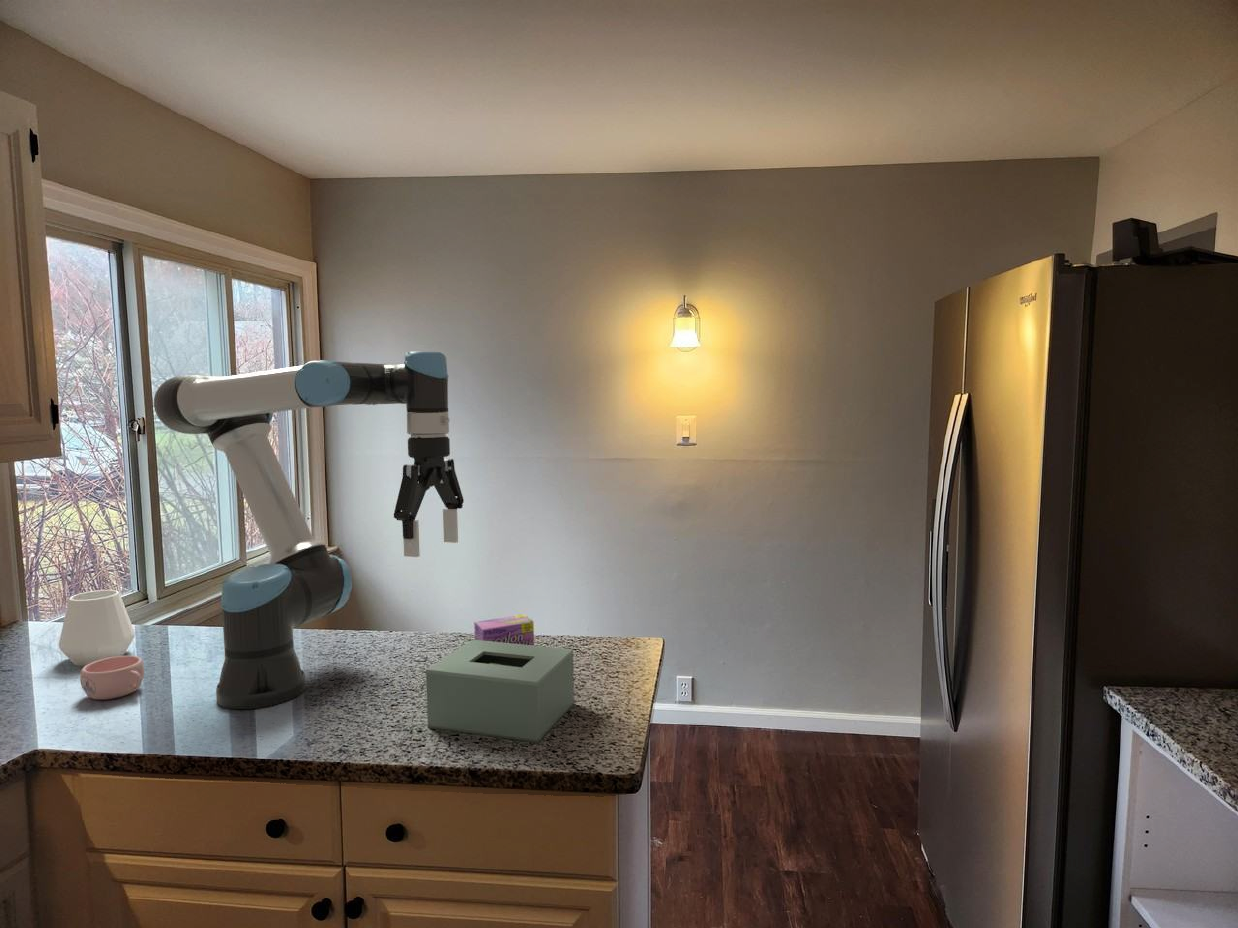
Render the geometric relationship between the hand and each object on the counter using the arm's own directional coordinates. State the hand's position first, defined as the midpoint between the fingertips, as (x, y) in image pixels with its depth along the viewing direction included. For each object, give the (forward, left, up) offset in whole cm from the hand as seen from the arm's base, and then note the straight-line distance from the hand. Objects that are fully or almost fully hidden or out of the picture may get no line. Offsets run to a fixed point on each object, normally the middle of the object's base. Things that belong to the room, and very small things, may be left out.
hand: (432, 549), depth 140 cm
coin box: (+18, -8, -27) cm, 33 cm away
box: (+11, +7, -27) cm, 30 cm away
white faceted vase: (-79, -6, -27) cm, 84 cm away
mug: (-56, -20, -27) cm, 65 cm away
